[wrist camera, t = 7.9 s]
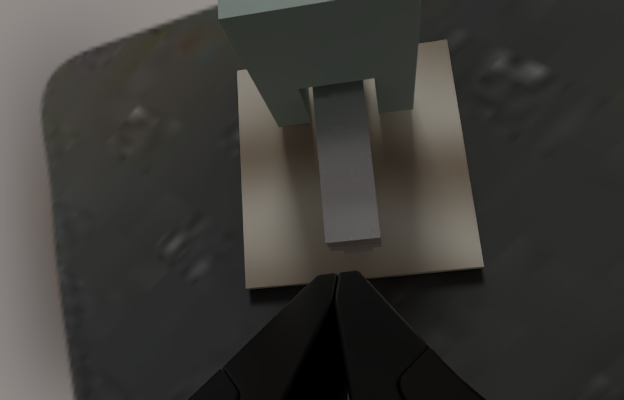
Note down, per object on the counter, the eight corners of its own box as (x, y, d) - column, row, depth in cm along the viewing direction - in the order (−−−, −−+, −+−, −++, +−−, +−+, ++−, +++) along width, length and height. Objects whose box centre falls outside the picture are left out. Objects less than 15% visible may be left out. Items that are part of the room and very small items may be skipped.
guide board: (481, 268, 21) (483, 266, 21) (249, 289, 23) (245, 288, 22) (445, 46, 24) (446, 39, 24) (240, 76, 25) (237, 70, 25)
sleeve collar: (412, 109, 22) (423, -15, 14) (278, 126, 23) (218, 19, 15) (405, 54, 23) (411, -93, 15) (275, 73, 24) (216, -57, 16)
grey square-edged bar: (387, 251, 22) (385, 235, 18) (330, 257, 22) (319, 242, 18) (363, 42, 24) (358, -6, 21) (313, 49, 25) (300, 3, 21)
